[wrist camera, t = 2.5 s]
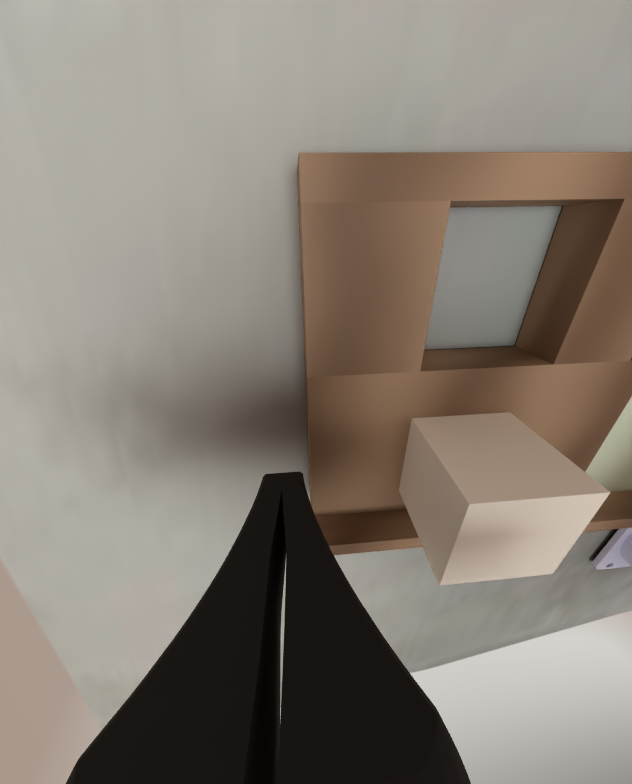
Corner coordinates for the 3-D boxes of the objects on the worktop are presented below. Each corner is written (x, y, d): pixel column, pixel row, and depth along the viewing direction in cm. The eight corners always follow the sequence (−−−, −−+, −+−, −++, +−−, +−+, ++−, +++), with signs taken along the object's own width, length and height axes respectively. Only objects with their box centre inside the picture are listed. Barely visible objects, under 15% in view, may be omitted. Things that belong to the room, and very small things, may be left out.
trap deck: (873, 166, 10) (1201, 127, 6) (647, 466, 16) (743, 528, 13) (296, 170, 8) (302, 123, 5) (310, 492, 15) (316, 568, 12)
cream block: (509, 412, 11) (611, 492, 8) (482, 483, 13) (552, 573, 10) (411, 418, 11) (469, 504, 7) (398, 490, 13) (439, 585, 9)
